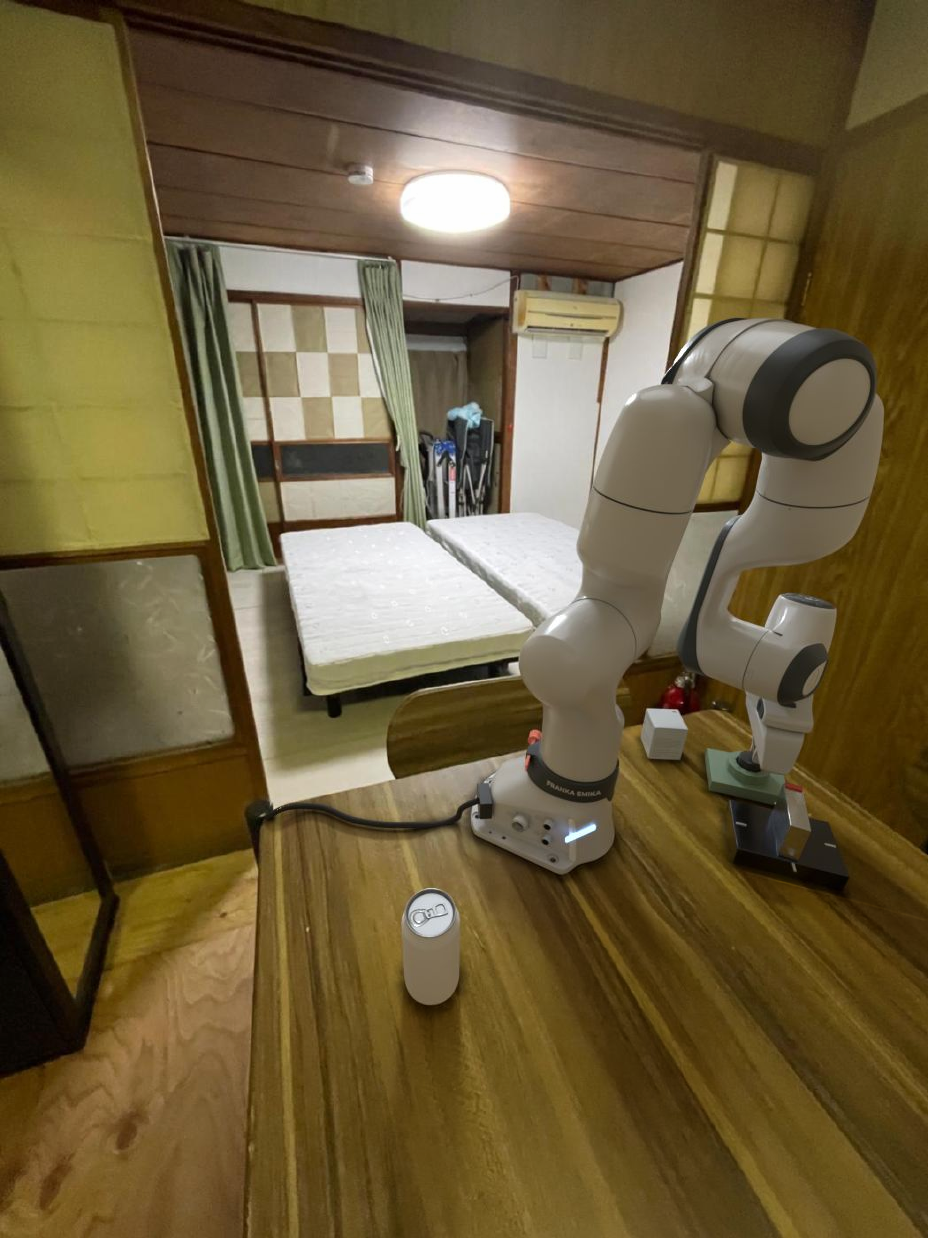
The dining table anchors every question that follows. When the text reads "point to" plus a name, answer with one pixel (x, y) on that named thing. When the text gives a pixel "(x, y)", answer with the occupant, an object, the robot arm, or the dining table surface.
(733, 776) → the button block
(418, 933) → the can
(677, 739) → the product box
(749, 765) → the button
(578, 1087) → the dining table surface
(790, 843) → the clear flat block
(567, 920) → the dining table surface
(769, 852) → the base
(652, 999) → the dining table surface
